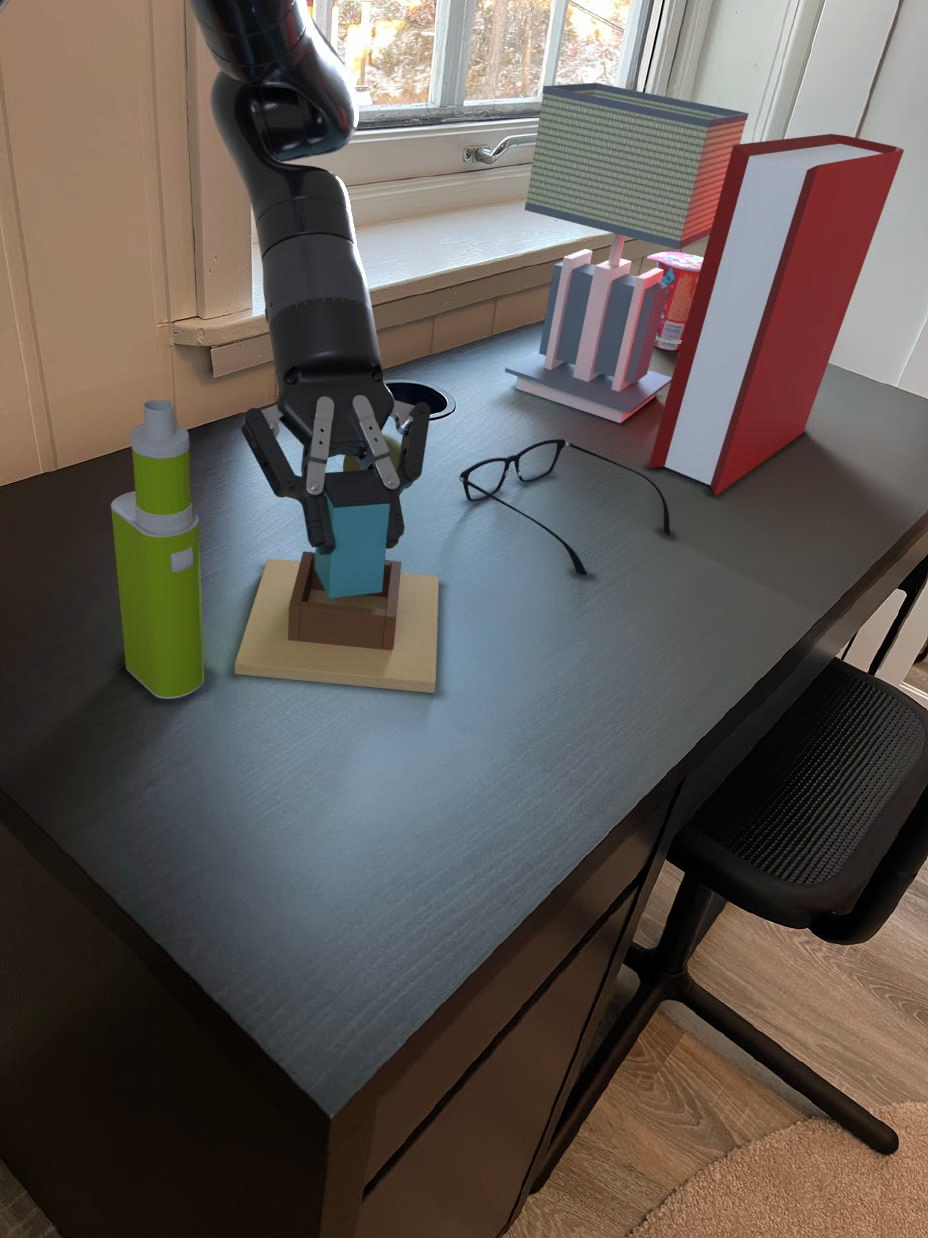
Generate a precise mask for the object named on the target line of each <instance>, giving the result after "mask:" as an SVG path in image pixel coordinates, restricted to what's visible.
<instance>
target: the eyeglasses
mask: <svg viewBox="0 0 928 1238" xmlns="http://www.w3.org/2000/svg"><path fill="white" fill-rule="evenodd" d="M552 444H553V445H554V444H556V449H555V455H554V458H553V461H552V463H551V466H550V467H549V469H548V470H547V471H546V472H544V473H542V474H540V475H538V476H535V477H533V478H530V479H529V478H528V479H524V478H523V476H522V473H521V467H520V460H521V458H522V457H523V456H524V455H525V454H527V453H529V452H530V451H532V450H534V449H537V448H539V447H542V446H545V445H552ZM565 446H567V447H569V448H571V449H575V450H577V451H580V452H582V453H585V454H587V455H589V456H593V457H596V458H597V459H600V460H602V461H605V462H607V463H610V464H613V465H615V466H618V467H620V468H623V469H625V470H627V471H630V472H632V473H634V474H636V475H637V476H640V477H641V478H643V479H644V480H646V481H647V482H648V483H650V484H651V486H653V487H654V489H655V490H656V492H657V493H658V495H659V498H660V500H661V504H662V509H663V532H664V534H666V535H667V536H670V535H671V525H670V523H671V522H670V512H669V508H668V505H667V504H668V503H667V502H666V499H665V497H664V495H663V493H662V491H661V489H660V488H659V487H658V486H657V484H655V482H654V481H652V480H651V478H649V477H647V476H645V475H644V474H643V473H641V472H639V471H636V470H634V469H633V468H630V467H627V466H626V465H623V464H621V463H619V462H617V461H614V460H611V459H609V458H607V457H605V456H603V455H600V454H598V453H595V452H593V451H590V450H588V449H585V448H583V447H580V446H578V445H575V444H574V443H570V441H569V442H568V441H567V442H566V440H565V439H564V438H554V439H553V438H551V439H545V440H543V441H540V442H539V441H538V442H537V443H534V444H531V445H530V446H528V447H526V448H524V449H522V450H521V451H520V452H518V453H517V454H512V455H508V456H507V457H492V458H488V459H484V460H481V461H478V462H477V463H475V464H473V465H471V466H469V467H467V468H466V469H464V470H463V471H462V472H461V473H460V475H459V476H458V479H459V481H460V482H461V483H462V485H463V490H464V493H465V497H466V499H467V501H468V502H471V503H473V502H479V501H483V500H485V499H488V498H491V499H493V500H494V501H496V502H498V503H500V504H502V505H504V506H505V507H507V508H509V509H511V510H513V511H514V512H516V513H518V514H520V515H522V516H523V517H524V518H527V519H529V520H530V521H531V522H533V523H534V524H536V525H538V526H539V527H541V528H542V529H543V530H544V531H546V532H547V533H548V534H550V535H551V536H553V537H554V538H555V539H556V541H558V542H560V543H561V545H563V547H564V548H565V550H566V551H567V554H568V555H569V557H570V559H571V562H572V564H573V567H574V569H575V572H576V573H577V574H579V575H582V576H588V573H587V570H586V569H585V566H584V565H583V562H582V560H581V559H580V557H579V556H578V554H577V552H576V551H575V550H574V549H573V548H572V547H571V546H570V544H568V543H567V542H566V541H565V540H564V539H562V538H561V537H560V536H559V535H557V534H556V533H555V532H554V531H552V529H550V528H548V527H547V526H545V525H544V524H542V523H540V522H539V521H538V520H536V519H534V518H533V517H531V516H529V515H527V514H526V513H524V512H523V511H521V510H519V509H517V508H515V507H514V506H512V505H510V504H509V503H507V502H506V501H504V500H502V499H500V498H499V497H497V496H495V494H497V493H498V492H499V491H500V490H501V488H502V486H503V484H504V483H505V480H506V481H508V480H509V479H510V475H511V471H509V469H510V465H511V463H513V462H514V463H513V464H514V469H515V472H516V476H517V478H518V479H519V481H520V482H522V483H530V482H534V481H537V480H540V479H542V478H544V477H546V476H548V475H550V474H551V473H552V472H553V471H554V469H555V467H556V465H557V462H558V459H559V457H560V455H561V452H562V450H563V449H564V448H565ZM496 462H503V463H504V467H503V472H502V475H501V477H500V479H499V482H498V485H497V486H496V488H495V489H494V490H492V492H489V491H487V490H485V489H483V488H482V487H480V486H478V485H477V484H474V483H473V482H471V481H470V480H469V477H470V475H471V473H472V472H474V471H475V470H477V469H478V468H481V467H483V466H485V465H488V464H491V463H496ZM508 473H509V474H508ZM469 487H471V488H473V489H474V490H477V491H478V492H480V493H482V494H484V495H483V496H480V497H477V498H476V497H475V498H472V497H471V493H470V491H469Z"/></svg>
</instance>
